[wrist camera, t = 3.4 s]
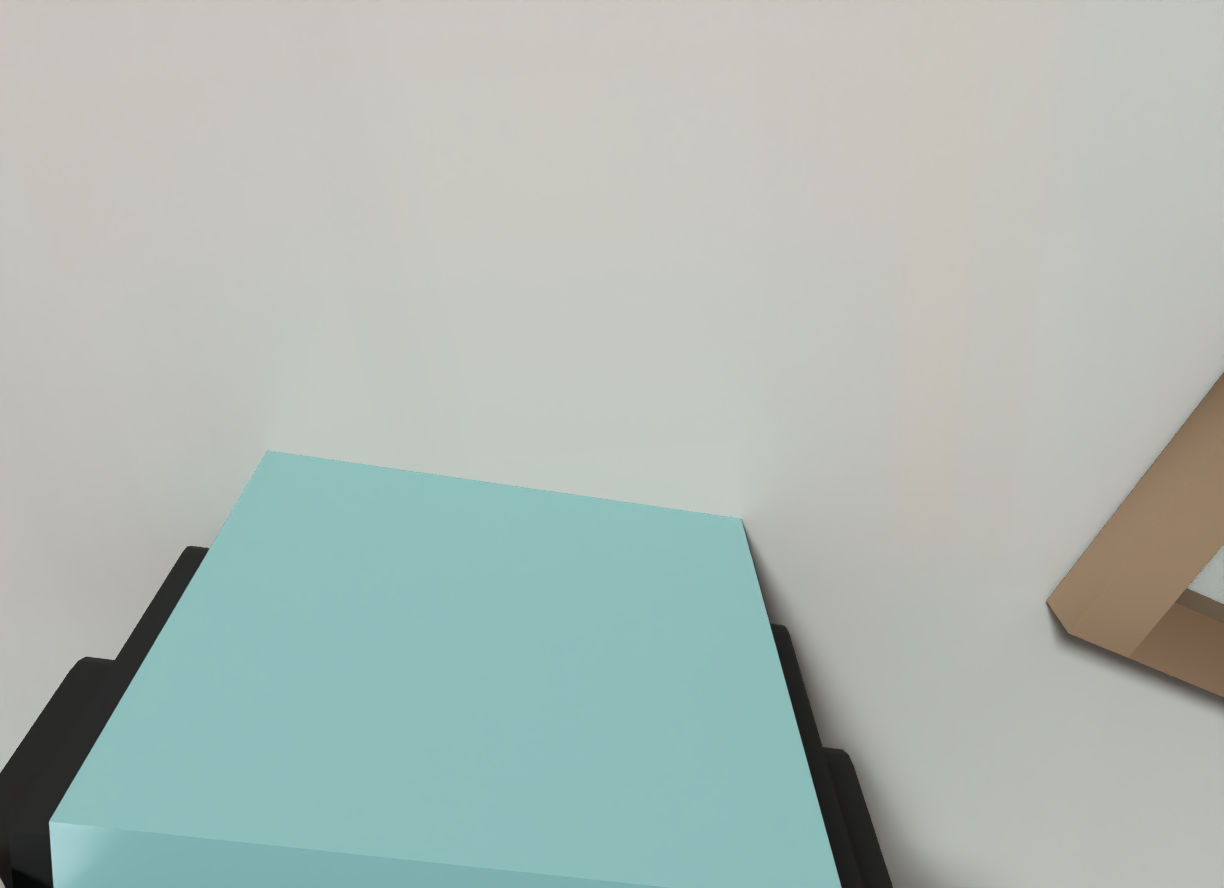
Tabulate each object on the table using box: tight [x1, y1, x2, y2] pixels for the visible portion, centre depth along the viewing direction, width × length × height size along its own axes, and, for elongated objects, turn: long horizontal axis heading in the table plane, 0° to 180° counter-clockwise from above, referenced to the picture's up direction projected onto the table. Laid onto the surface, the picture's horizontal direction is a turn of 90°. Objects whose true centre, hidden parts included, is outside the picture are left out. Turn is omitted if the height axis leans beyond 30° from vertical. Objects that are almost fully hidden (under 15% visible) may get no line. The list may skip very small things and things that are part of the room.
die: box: [49, 451, 842, 888], centre depth 10 cm, size 5×5×5 cm
